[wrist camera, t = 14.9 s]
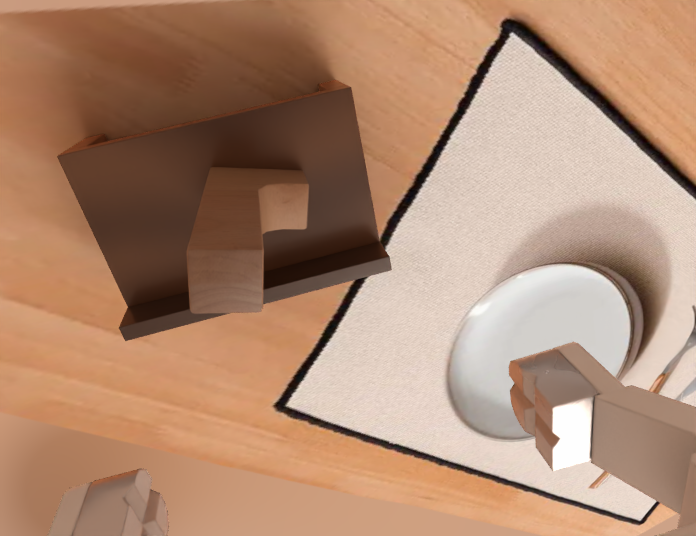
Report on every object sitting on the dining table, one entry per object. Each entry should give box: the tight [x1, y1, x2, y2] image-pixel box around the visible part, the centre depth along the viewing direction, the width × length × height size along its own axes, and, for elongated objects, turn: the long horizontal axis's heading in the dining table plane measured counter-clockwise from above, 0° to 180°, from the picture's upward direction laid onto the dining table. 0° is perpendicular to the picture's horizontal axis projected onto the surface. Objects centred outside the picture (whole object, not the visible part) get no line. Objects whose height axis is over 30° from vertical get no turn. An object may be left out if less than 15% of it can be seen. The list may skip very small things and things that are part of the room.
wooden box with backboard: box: [57, 80, 392, 341], centre depth 38 cm, size 13×20×10 cm, turn 101°
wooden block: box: [186, 167, 309, 314], centre depth 29 cm, size 7×3×15 cm, turn 85°
